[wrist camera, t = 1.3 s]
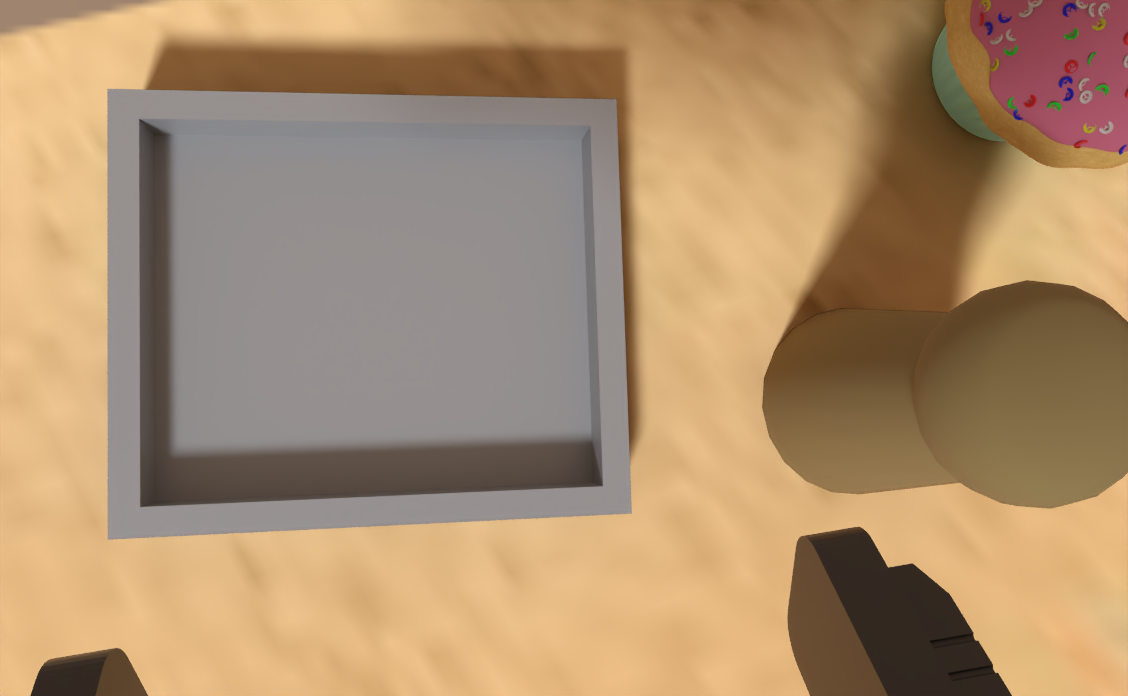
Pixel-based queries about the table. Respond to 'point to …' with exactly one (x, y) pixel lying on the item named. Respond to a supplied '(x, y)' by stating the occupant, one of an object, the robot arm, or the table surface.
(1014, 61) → the cupcake
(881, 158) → the table surface
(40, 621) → the table surface
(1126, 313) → the table surface
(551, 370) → the gray tray
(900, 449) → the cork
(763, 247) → the table surface
